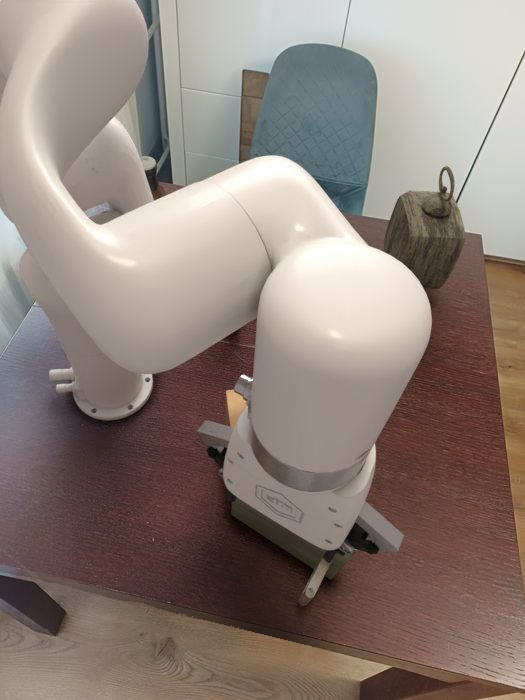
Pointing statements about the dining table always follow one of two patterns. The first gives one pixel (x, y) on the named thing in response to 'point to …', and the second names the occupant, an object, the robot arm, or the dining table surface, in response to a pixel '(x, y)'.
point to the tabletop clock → (427, 233)
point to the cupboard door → (292, 547)
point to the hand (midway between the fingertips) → (285, 515)
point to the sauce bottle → (152, 177)
